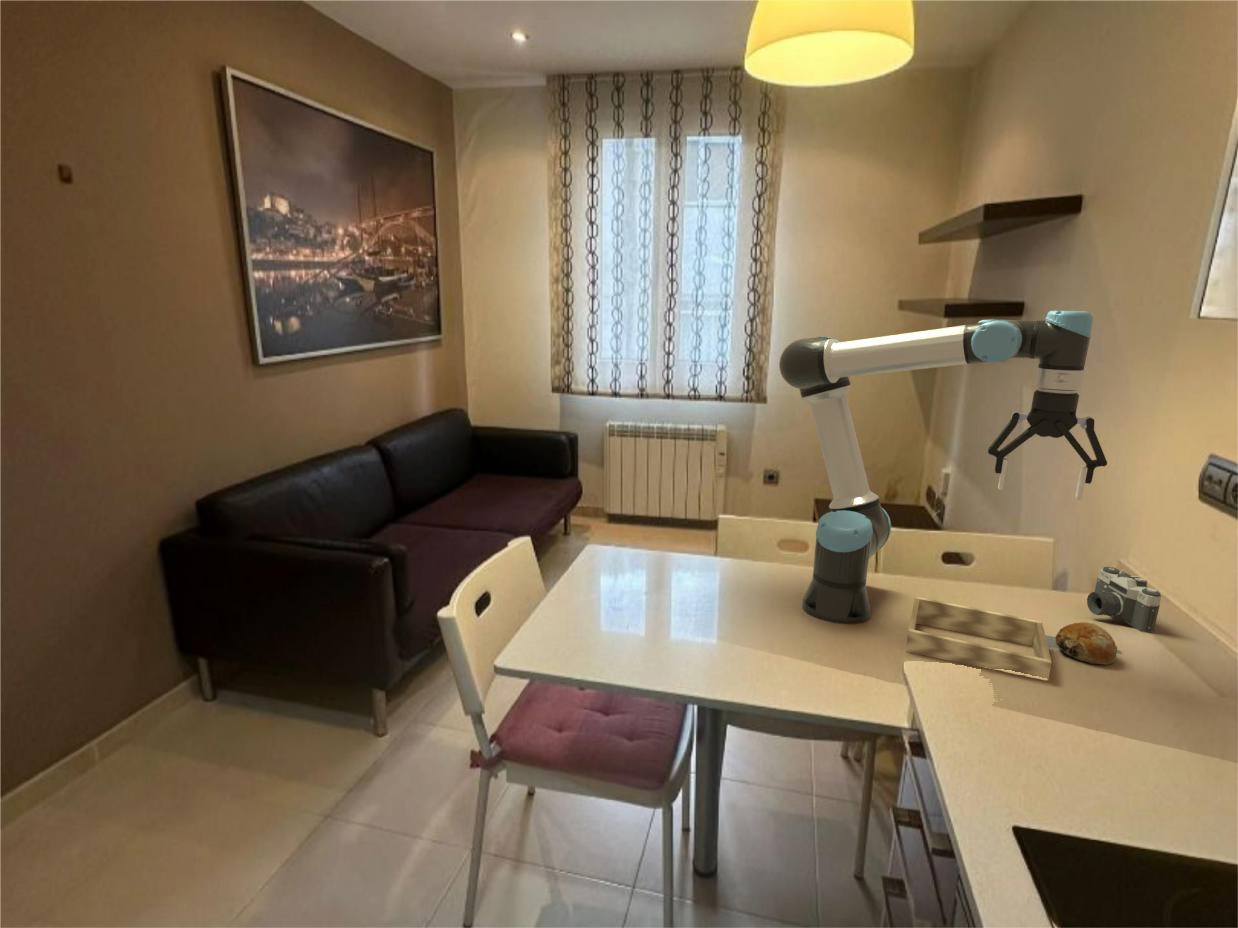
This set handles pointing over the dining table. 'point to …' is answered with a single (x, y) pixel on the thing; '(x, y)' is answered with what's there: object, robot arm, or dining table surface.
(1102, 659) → the bread roll
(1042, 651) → the crate
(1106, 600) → the camera
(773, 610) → the dining table surface
